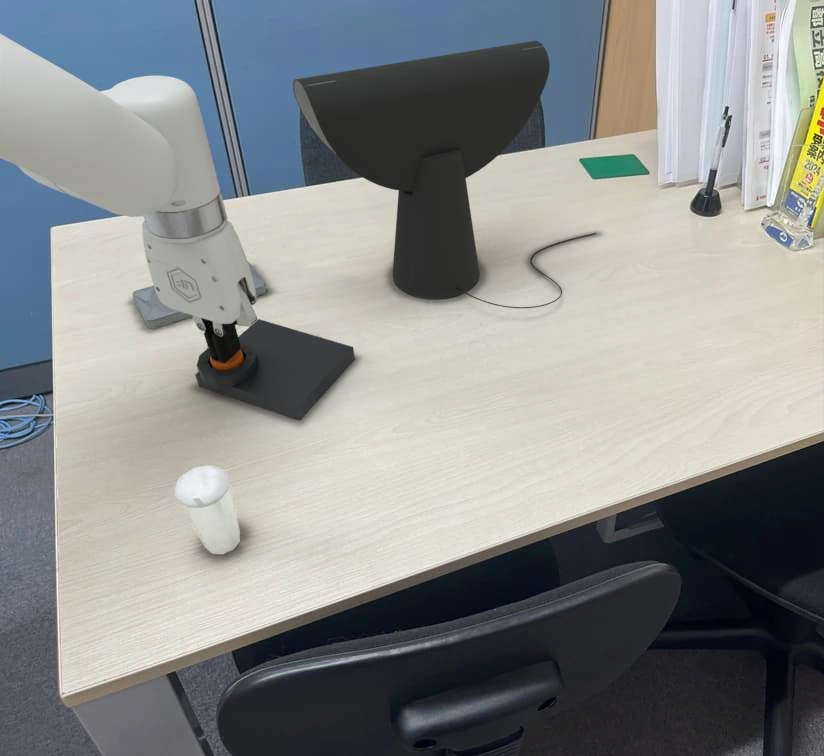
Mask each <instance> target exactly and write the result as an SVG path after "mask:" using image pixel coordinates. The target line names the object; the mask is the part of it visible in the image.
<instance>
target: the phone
mask: <svg viewBox="0 0 824 756" xmlns="http://www.w3.org/2000/svg"><path fill="white" fill-rule="evenodd" d="M248 264H249V268H250V271H251V274H252V278H253V281H254V286H255V291H256V298H258V297H259V296H263V295H265V294H266V293H267V291H268V289H267V285H266V283H265V281H264V279H262V277H261V276H260V275H259V273H258V272H257V271H256V270H255V268H254V267H253V266H252V264H251V263H250V262H249V261H248ZM132 298H133V302H134V303H135V306H136V307H137V309H138V311H139V312H140V314H141V316H142V318H143V320H144V323H145V324H146V326H147V327H148V328H149V329H156V328H157V329H158V328H160V327H164V326H167V325H171V324H173V323H177V322H180V321H183V320H186V319H188V318H193V317H192V316H191V315H190V314H187V313H184V312H180V311H177V310H174V309H171V308H169V307H167V306H165V305H164V304H162V303H161V302H160V300H159V298H158V296H157V294H156V291H155V288H154V285H151V286H147V287H144V288H140V289H137V290H134V291H133V292H132Z"/></svg>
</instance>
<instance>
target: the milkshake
mask: <svg viewBox="0 0 824 756" xmlns="http://www.w3.org/2000/svg"><path fill="white" fill-rule="evenodd" d="M230 478H231V477H230V475H229V473H228V472H227V471H226V469H224V468H222V467H218V466H216V465H212V464H205V465H199V466H198V465H197V466H195V467H193V468H191V469H190V470H188V471H186V472H184V474H182V475H181V476H180V477H179V478H178V480H177V481H176V483H175V487H174V496H175V498H176V501H178V503H179V505H180V506H181V508H182V510H183V511H184V513H185V515H186V516H187V517H188V519H189V521H190V523H191V525H192V527H193V529H194V531H195V532H196V534H197V536H198V537H199V539H200V541H201V543H202V544H203V546H204V548H205V549H206V550H207V551H208V552H209V553H211V555H225V554H228V553H231V552H232V551H234V550H235V549H236V548H237V546H238V545H239V543H240V542H241V529H240V525H239V522H238V516H237V512H236V507H235V503H234V497H233V491H232V484H231V479H230Z"/></svg>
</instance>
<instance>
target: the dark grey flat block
mask: <svg viewBox="0 0 824 756" xmlns="http://www.w3.org/2000/svg"><path fill="white" fill-rule="evenodd" d="M238 338H239V342H240V345H241V348H240V349H241V351H242V353H243V357H244V362H243V363H242V364H240V365H239V366H238V367H235V368H232V369H230V370H217V369H214V368H212V364H211V361H210V352H209V349H208V348H206V349H205V350H204V351H203V352H202V353H200V354H199V356H198V359H197V363H196V368H197V371H198V372H196V373H195V375H194V376H195V378H196V381H197V384H198V385H197V386H198V387H199V388H202V389H205V390H208V391H211V392H214V393H216V394H220V395H222V396H226V397H229V398H232V399H235V400H238V401H241V402H243V403H247V404H250V405H253V406H256V407H259V408H262V409H264V410H268V411H270V412H274V413H276V414H280V415H282V416H286V417H289V418H291V419H294V420H298V421H301V419H302V418H303V417H304V416H305V415H306V414H307V413H308V412H309V411H310V410H311V408H312V407H313V406H314V405H315V404H316V403H317V402H318V400H319V399H320V398H321V397H322V396H323V395H324V394H325V392H327V390H328V389H329V388H330V387H331V386H332V385H333V384H334V383H335V382H336V380H337V379H338V378H339V377H340V376H341V375H342V374H343V372H344V371H345V370H347V368H348V367H349V366H350V365H351V364H352V363H353V362H354V361H355V359H356V358H355V351H354V349H355V348H354V346H352V345H348V344H345V343H341V342H337V341H335V340H332V339H328V338H324V337H321V336H318V335H314V334H310V333H308V332H304V331H301V330H297V329H293V328H291V327H287V326H284V325H280V324H277V323H273V322H270V321H267V320H263V319H261V318H257V320H256V321H255V322H254V323H253V324H252V325H251V326H248V327H247V328H246V330H244V331H243V332H242V333H241V334H240V335H238Z"/></svg>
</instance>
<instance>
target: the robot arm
mask: <svg viewBox="0 0 824 756" xmlns="http://www.w3.org/2000/svg"><path fill="white" fill-rule="evenodd" d="M201 111H202V110H201V108H200V104H199V100H198V98H197V95H196V93H195V91H194V90H193V88H192V87H191V86H190V84H188V83H187V82H186V81H184V80H182V79H180V78H178V77H172V76H168V75H144V76H136V77H132V78H129V79H126V80H123V81H121V82H119V83H117V84H115V85H113V86H112V87H111V88H109V89H105V90H98V89H97V88H95V87H93V86H92V85H90V84H88V83H87V82H85V81H84V80H82V79H80V78H78V77H77V76H75V75H73V74H72V73H70V72H68V71H66V70H65V69H63V68H61V67H60V66H58V65H56V64H55V63H52V61H49V60H48V59H46V58H43V57H42V56H40V55H38V54H37V53H35V52H33V51H31V50H29V49H28V48H26V47H24V46H23V45H21V44H19V43H18V42H15V41H14V40H12V39H10V38H9V37H7V36H5V35H3V34H2V33H1V32H0V159H2V160H4V161H6V162H9V163H11V164H13V165H15V166H17V167H18V168H19V169H20V170H21V172H23V173H24V174H25V175H26V176H27V177H29V178H30V179H32V180H34V181H35V182H38V183H39V184H41V185H43V186H46V188H49V189H53V190H54V191H58V192H60V193H62V194H65V195H68V196H70V197H72V198H75V199H79V200H81V201H84V202H86V203H89V204H91V205H93V206H96V207H98V208H101V209H102V210H105V211H107V212H110V213H112V214H116V215H119V216H123V217H129V218H136V217H143V219H144V221H143V222H142V225H141V227H142V228H141V230H142V231H141V233H142V243H143V249H144V253H145V259H146V262H147V263H146V264H147V267H148V270H149V274H150V277H151V281H152V284H153V285H152V286H154V288H155V291H156V294H157V296H158V298H159V300H160V302H161V303H162V304H164V305H165V306H167V307H169V308H171V309H174V310H177V311H180V312H184V313H187V314H190V315H191V316H192V317H191V318H192V319H193V321H194V323H195V325H196V327H197V329H198V330H199V331H201V332H203V336H204V339H205V342H206V346H207V349H209V352H210V355H211V358H212V359H213V360H216V361H217V360H219V361H220V362H222V363H226V362H227V361H228V360H229V359H230V358H231V357H232V356H233V355H235V354H236V353H237V352H238V351H239V350H240V348H241V345H240V342H239V338H238V337H239V335H238V331H237V328H236V326H238V327H250V326H251V325H252V324H254V323H255V322H256V321H257V320H258V315H257V314H256V311H255V309H254V307H253V305H256V303H257V297H256V291H255V286H254V281H253V278H252V274H251V271H250V268H249V264H248V262H249V261H248V259H247V256H246V253H245V251H244V247H243V245H242V243H241V240H240V239H239V236H238V234H237V232H236V230H235V227H234V225H233V224H232V222H230V221H229V220H228V219H229V218H228V215H227V210H226V206H225V203H224V198H223V194H222V191H221V188H220V183H219V180H218V176H217V171H216V167H215V163H214V159H213V155H212V151H211V147H210V144H209V140H208V139H209V138H208V135H207V131H206V127H205V123H204V119H203V116H202V112H201Z"/></svg>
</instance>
